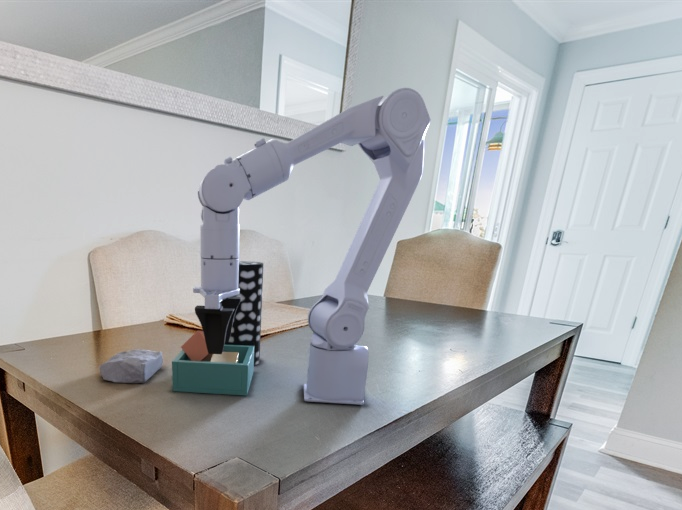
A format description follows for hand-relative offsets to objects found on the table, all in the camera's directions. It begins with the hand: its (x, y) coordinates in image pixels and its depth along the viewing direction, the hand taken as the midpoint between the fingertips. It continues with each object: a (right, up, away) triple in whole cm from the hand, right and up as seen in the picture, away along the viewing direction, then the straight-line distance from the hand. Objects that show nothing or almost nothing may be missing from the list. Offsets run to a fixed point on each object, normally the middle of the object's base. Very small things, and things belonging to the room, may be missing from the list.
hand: (219, 347), depth 73 cm
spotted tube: (+5, 0, +24) cm, 25 cm away
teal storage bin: (-1, -5, +12) cm, 13 cm away
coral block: (-2, -1, +11) cm, 11 cm away
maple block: (+1, -5, +9) cm, 10 cm away
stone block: (-17, -3, +16) cm, 24 cm away
